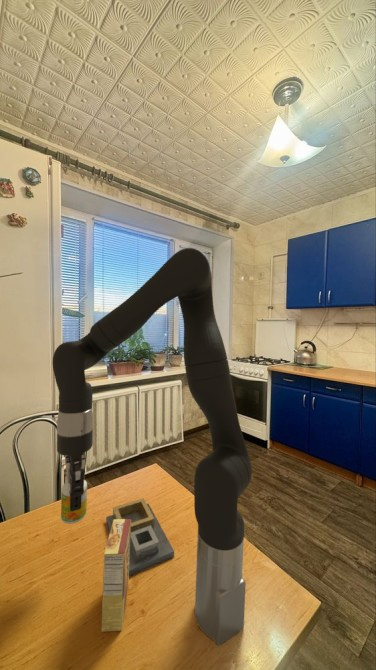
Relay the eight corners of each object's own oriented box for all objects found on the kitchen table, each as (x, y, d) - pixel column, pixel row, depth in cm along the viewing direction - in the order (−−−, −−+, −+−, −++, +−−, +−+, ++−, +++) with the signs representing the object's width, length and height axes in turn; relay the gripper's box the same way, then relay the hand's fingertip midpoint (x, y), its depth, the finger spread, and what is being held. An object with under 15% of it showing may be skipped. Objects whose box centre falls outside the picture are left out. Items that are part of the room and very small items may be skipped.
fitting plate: (174, 557, 64) (174, 541, 64) (122, 579, 58) (122, 562, 58) (148, 508, 81) (148, 495, 81) (106, 521, 75) (106, 508, 75)
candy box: (110, 585, 57) (112, 518, 56) (129, 584, 57) (131, 517, 56) (100, 633, 48) (102, 554, 47) (123, 631, 48) (125, 553, 48)
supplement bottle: (55, 521, 57) (55, 478, 56) (72, 505, 62) (73, 466, 62) (75, 527, 55) (76, 483, 55) (91, 510, 60) (92, 470, 60)
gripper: (98, 437, 54) (96, 516, 54) (88, 415, 66) (87, 479, 67) (58, 444, 50) (56, 528, 50) (56, 420, 63) (55, 487, 63)
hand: (74, 500), depth 59 cm, fingers closed on supplement bottle, 5 cm apart
